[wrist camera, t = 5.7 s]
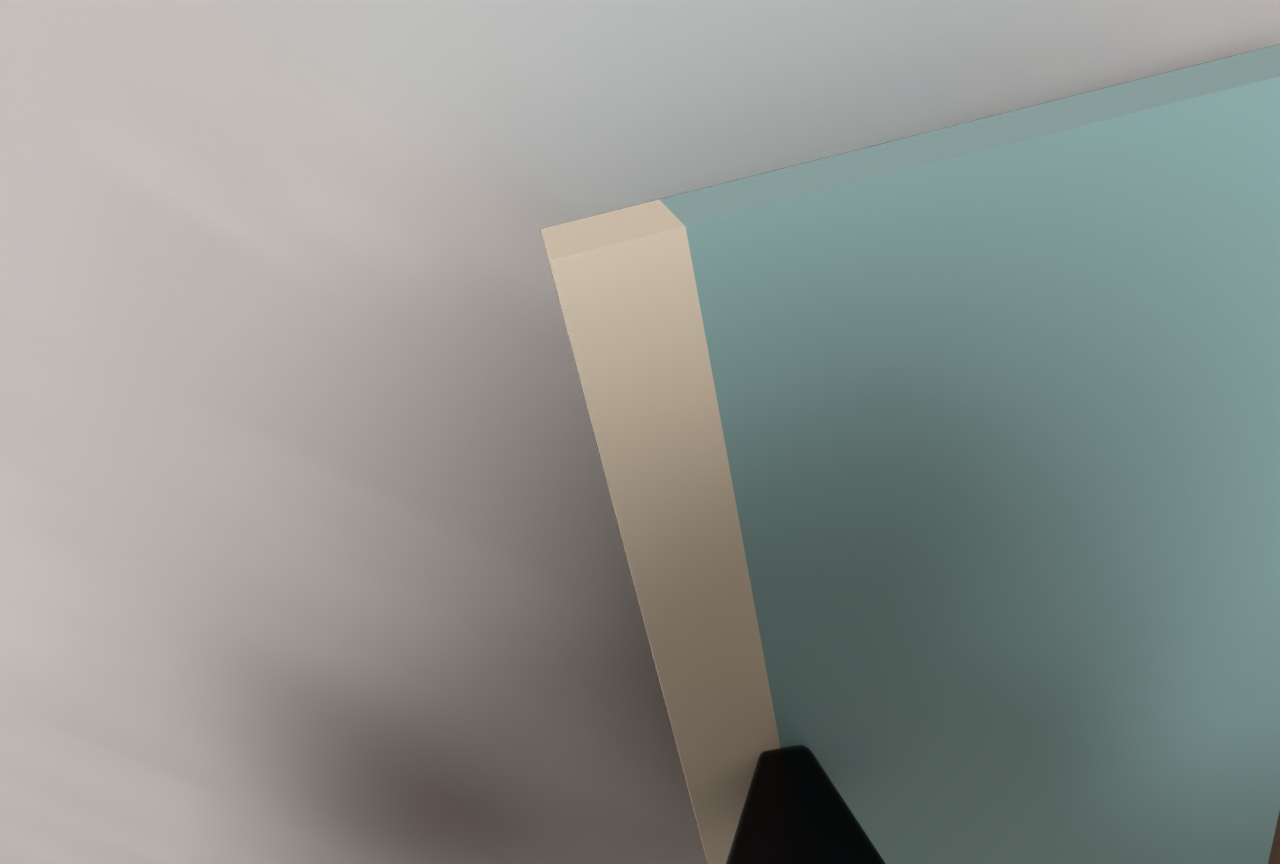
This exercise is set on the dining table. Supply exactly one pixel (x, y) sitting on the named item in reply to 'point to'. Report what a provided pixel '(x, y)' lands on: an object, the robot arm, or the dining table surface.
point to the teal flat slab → (965, 472)
